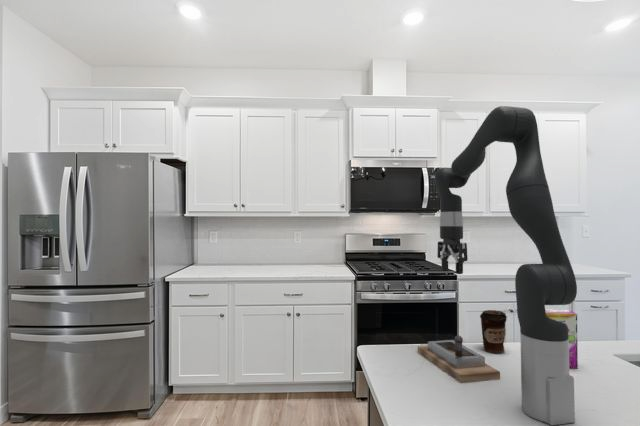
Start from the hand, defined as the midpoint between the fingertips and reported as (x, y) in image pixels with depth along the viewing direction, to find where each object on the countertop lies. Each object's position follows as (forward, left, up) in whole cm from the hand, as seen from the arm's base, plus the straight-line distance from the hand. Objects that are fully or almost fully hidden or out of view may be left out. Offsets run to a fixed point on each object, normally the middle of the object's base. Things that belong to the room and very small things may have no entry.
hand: (451, 272), depth 123 cm
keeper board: (-12, +7, -26) cm, 30 cm away
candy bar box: (-19, -22, -26) cm, 39 cm away
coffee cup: (-4, -13, -26) cm, 30 cm away
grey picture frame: (-12, +7, -24) cm, 28 cm away
